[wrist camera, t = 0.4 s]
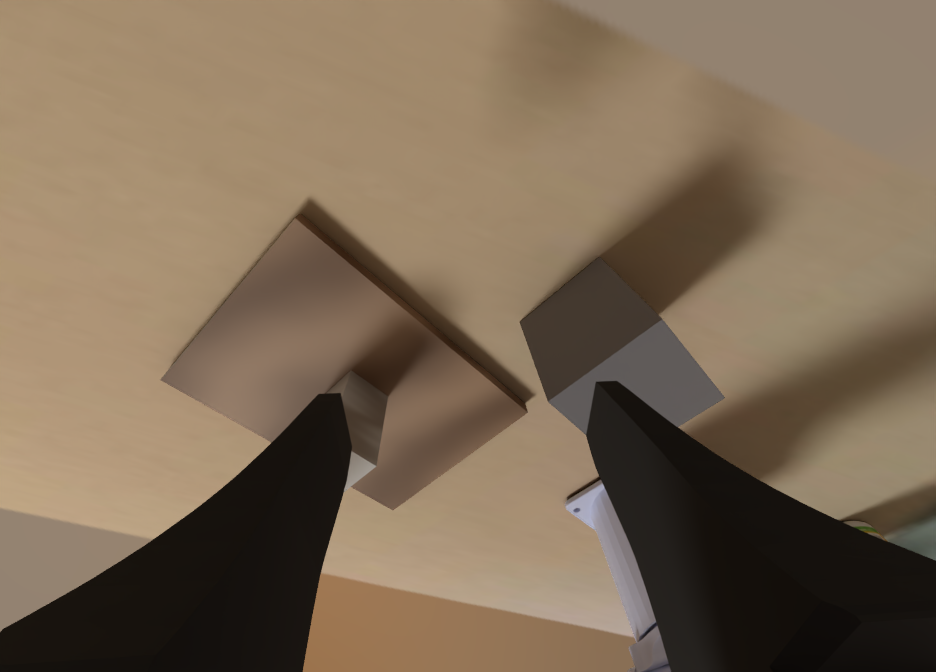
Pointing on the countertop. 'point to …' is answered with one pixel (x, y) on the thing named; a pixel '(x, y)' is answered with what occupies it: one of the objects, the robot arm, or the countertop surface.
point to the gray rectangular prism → (612, 350)
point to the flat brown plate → (344, 366)
